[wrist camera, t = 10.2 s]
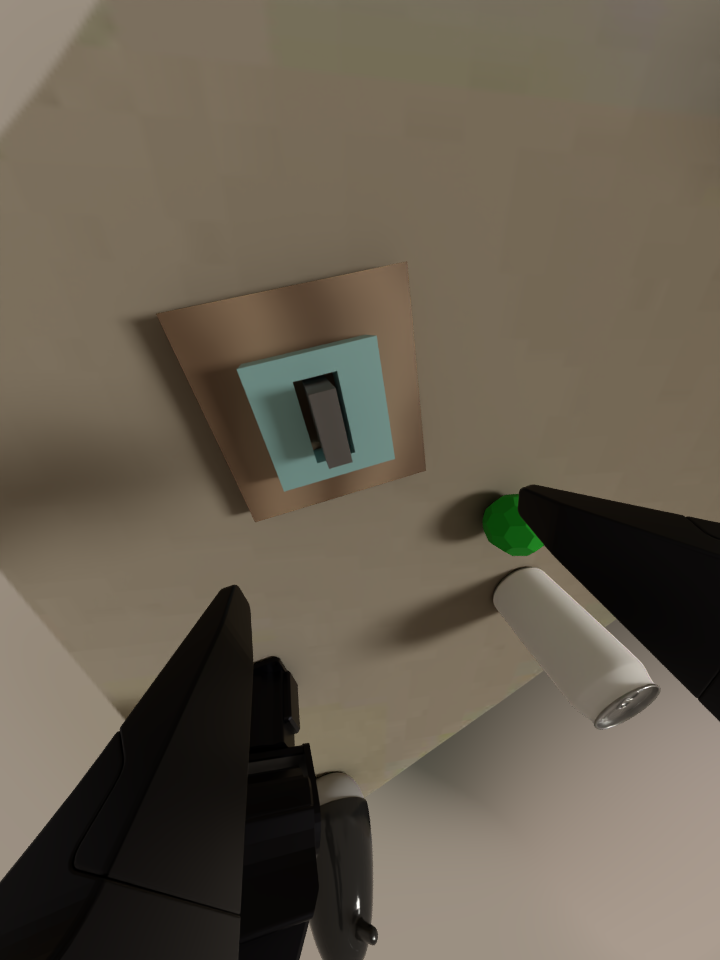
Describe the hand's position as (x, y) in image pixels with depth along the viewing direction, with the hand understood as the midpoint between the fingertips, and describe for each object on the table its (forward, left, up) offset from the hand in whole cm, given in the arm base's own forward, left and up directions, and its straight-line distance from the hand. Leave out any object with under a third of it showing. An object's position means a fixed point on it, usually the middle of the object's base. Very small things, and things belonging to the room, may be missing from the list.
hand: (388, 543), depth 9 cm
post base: (0, +2, -12) cm, 12 cm away
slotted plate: (0, +2, -10) cm, 10 cm away
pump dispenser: (-13, -52, -12) cm, 55 cm away
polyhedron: (+13, -11, -12) cm, 21 cm away
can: (+16, -23, -12) cm, 31 cm away
